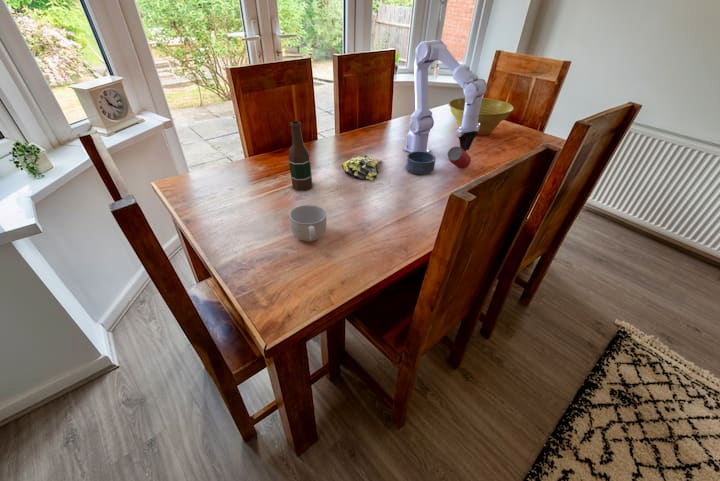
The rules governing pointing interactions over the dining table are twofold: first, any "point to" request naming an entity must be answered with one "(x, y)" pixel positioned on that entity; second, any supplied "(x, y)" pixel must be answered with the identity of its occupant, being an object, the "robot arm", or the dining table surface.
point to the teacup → (308, 222)
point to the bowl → (420, 162)
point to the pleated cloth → (362, 167)
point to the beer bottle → (299, 160)
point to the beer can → (459, 157)
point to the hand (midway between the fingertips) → (464, 150)
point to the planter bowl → (483, 113)
